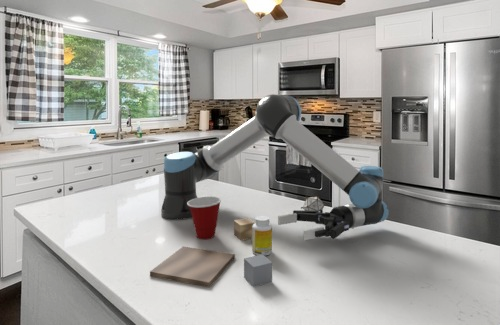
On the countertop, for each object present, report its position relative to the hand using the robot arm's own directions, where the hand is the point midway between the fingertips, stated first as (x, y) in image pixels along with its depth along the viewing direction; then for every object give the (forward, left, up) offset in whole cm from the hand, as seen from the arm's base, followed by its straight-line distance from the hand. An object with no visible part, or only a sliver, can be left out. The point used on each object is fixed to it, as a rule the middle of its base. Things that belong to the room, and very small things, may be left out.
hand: (290, 227), depth 100 cm
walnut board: (-21, -21, -6) cm, 30 cm away
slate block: (-3, -22, -6) cm, 23 cm away
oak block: (-16, +3, -6) cm, 17 cm away
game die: (+2, +30, -6) cm, 31 cm away
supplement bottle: (-7, -7, -6) cm, 11 cm away
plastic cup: (-28, -1, -6) cm, 28 cm away
